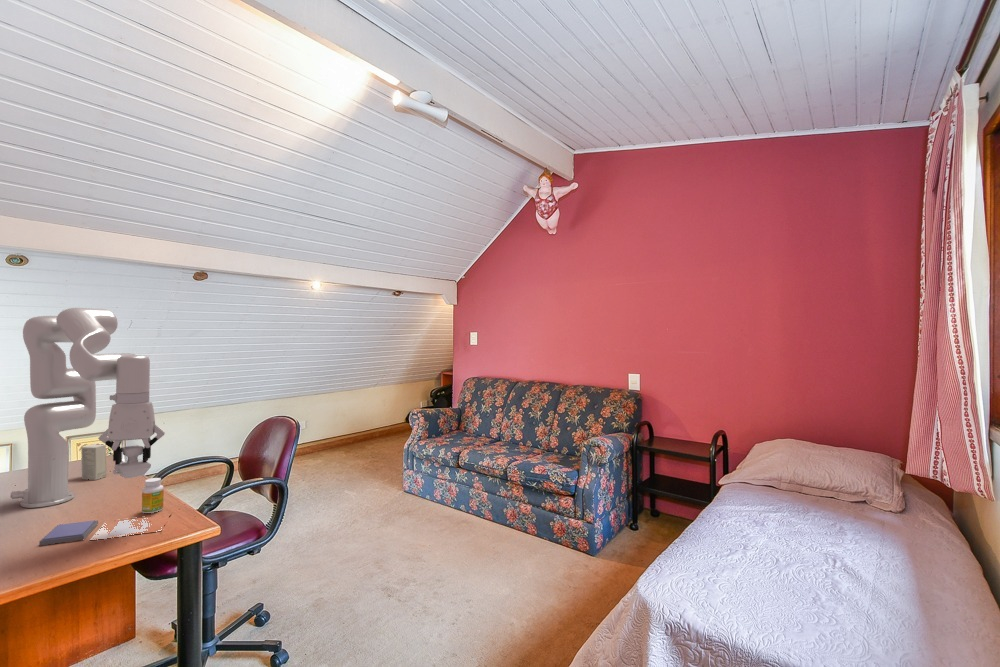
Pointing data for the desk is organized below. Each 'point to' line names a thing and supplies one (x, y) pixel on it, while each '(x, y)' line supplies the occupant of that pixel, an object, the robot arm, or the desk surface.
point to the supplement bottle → (152, 496)
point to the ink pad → (69, 532)
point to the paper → (121, 529)
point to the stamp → (132, 463)
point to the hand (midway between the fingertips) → (132, 461)
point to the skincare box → (93, 461)
